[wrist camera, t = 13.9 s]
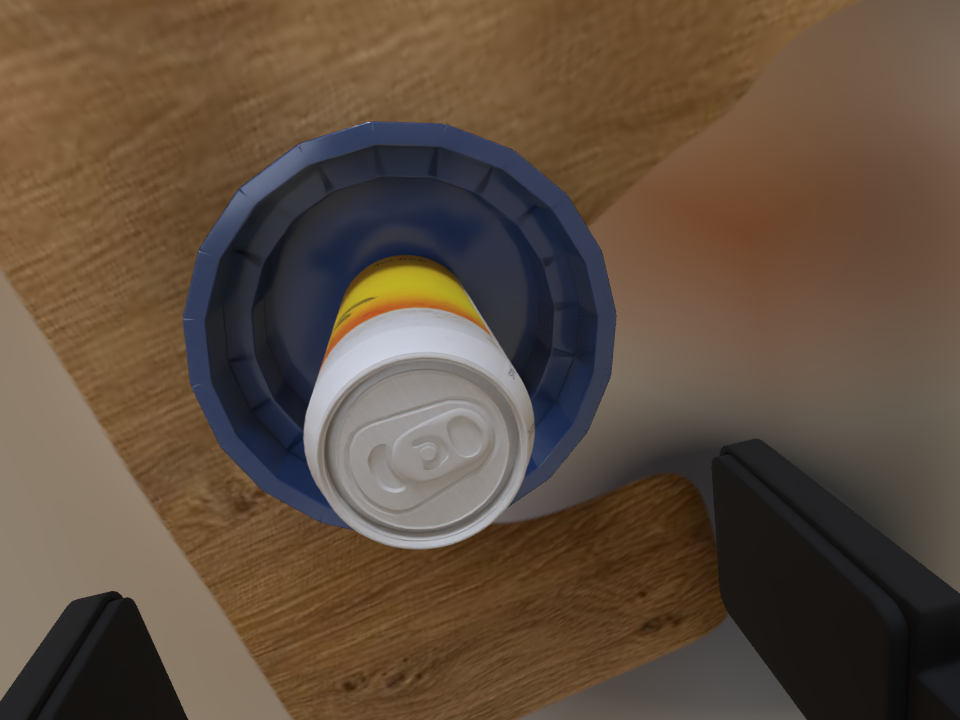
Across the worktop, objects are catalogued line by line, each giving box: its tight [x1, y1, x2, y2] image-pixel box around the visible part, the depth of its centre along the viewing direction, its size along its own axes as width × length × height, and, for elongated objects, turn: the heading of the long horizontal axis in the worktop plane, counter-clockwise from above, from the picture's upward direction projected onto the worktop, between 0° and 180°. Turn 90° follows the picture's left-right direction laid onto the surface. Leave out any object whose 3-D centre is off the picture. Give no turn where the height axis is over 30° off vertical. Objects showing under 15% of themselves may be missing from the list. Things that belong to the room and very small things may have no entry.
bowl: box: [183, 121, 616, 530], centre depth 28 cm, size 17×17×6 cm
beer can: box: [303, 255, 535, 549], centre depth 23 cm, size 6×6×15 cm
